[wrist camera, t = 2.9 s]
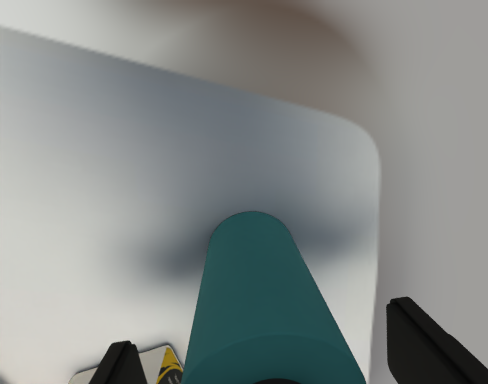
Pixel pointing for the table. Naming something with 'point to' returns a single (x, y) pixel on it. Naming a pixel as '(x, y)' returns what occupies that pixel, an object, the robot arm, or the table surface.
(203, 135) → the table surface
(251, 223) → the teal cylinder
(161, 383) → the medicine bottle
